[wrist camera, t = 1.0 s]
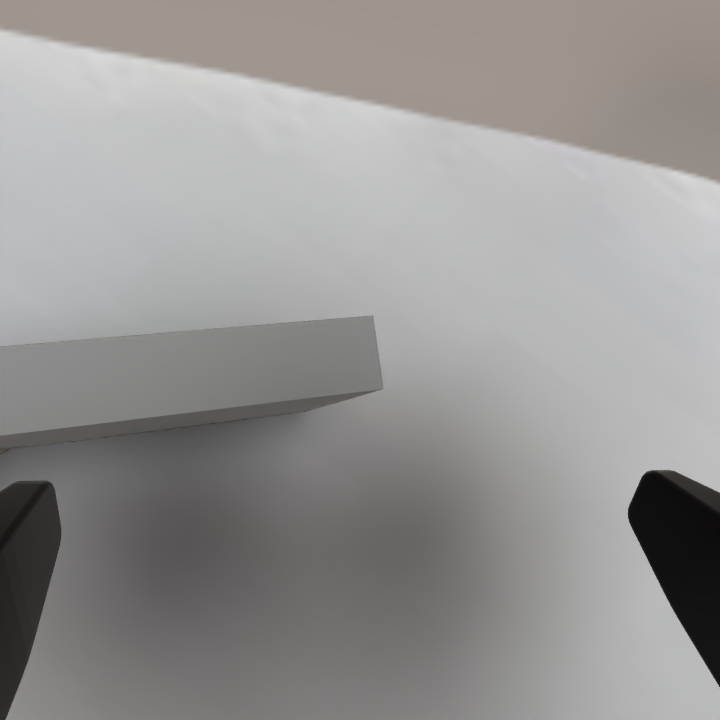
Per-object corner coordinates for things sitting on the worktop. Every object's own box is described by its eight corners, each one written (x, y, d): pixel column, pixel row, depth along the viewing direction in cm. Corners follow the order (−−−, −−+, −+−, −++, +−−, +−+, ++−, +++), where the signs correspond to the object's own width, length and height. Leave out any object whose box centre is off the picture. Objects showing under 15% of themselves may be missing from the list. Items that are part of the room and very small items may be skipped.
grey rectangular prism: (301, 373, 22) (372, 315, 12) (305, 411, 22) (383, 389, 11) (30, 402, 19) (-198, 362, 9) (32, 446, 19) (-197, 459, 9)
